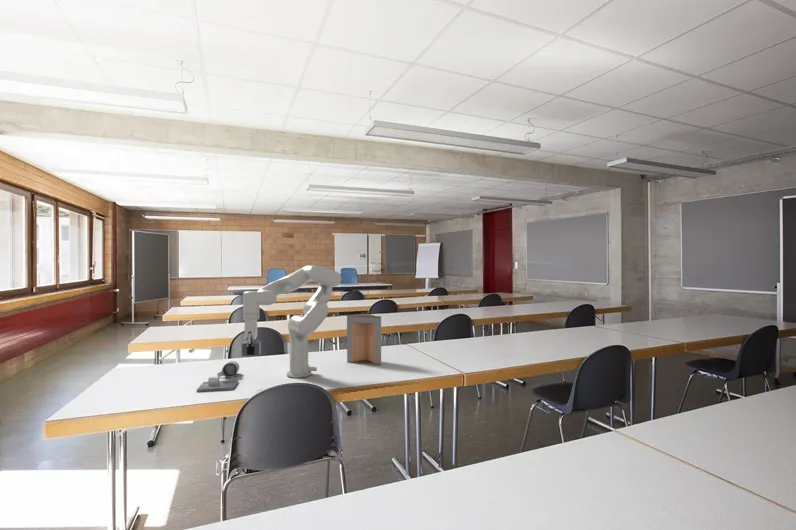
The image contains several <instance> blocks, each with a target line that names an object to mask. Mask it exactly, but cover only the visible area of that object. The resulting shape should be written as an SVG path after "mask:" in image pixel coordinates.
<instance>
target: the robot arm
mask: <svg viewBox="0 0 796 530" xmlns="http://www.w3.org/2000/svg"><path fill="white" fill-rule="evenodd" d="M310 282H316V283H317V285H318V286H317V290H316V292H315V293H314V294H313V295H312V296H311V297H310V299H309V300H308V301H307V302H306V303H305V304H304V306H303V309H302V311H303V313H304V315H301V314H295V315H293V316H291V317H290V318H289V319H288V324H287V328H288V329H287V330H288V334H289V335H288V336H289V371H288V372H287V373H286V376H287V377H289V378H292V379H293V378H294V379H300V378H307V377H310V376H311V375H312V372H316V371H318V367H316V366H310V364H309V337H308V336H310V335H312V334H313V333H314V332H315V331H317V329H318V328H319V326H320V325H321V324H322V323H323V322H324V321H325V319H326V318H327V316H328V314H329V307H328V304H327V303H328V302H329V301H330V300H331V298H332V295H333V288H334V287H338V286H339V285H340V284H341V282H342V276H341V274H340V273H339V272H338V271H336V270H334V269H333V270H332V269H329V268H326V267H322V266H320V265H314V264H309V265H304V266H303V267H301V268H298V269H297V270H295V271H294V272H292V273H290V274H288V275H286V276H284V277H282V278H280V279H279V278H278V279H277V280H274V281H273V282H270V283H268V284H267V285H265V286H262V287H261V288H259V289H258V290H257V291H256V290H247V291H244V292H243V293H242V316H243V317H242V320H243V321H244V328H243V329H244V331H243V332H244V333H243V335H244V336H243V340H244V341H247V355H254V346H253V345H254V341H257V337H258V320H260V306H271V305H274V304H275V303H276V301H277V298H278V296H279V295H281V294H287V293H291V292H294V291H297V290H298V289H300V288H301V287H303V286H305V285H306V284H308V283H310ZM251 341H252V342H251Z"/></svg>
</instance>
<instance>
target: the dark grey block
mask: <svg viewBox="0 0 796 530" xmlns="http://www.w3.org/2000/svg"><path fill="white" fill-rule="evenodd" d="M251 342H252V341H251ZM253 346H254V355H247V340H246V341H245V340H244V341H243V342H242V343H241V357H253V356H260V355H261V354H262V340H256V341H254V345H253Z"/></svg>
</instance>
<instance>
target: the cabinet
mask: <svg viewBox="0 0 796 530" xmlns="http://www.w3.org/2000/svg"><path fill="white" fill-rule="evenodd" d="M346 363H352V364H364V365H375V366H376V365H377V366H381V365H382V315H380V316H379V315H375V314H371V313H362V314H347V315H346Z"/></svg>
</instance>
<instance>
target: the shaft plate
mask: <svg viewBox="0 0 796 530" xmlns="http://www.w3.org/2000/svg"><path fill="white" fill-rule="evenodd" d="M207 380H208V381H203V382H202V383H201V384H200V385H199V387H197V389H196V393H200V392H201V393H204V392H219V391H222V392H223V391H234V390H235V388H236V387H237V385H238V384H239V379H231V380H220V376H219V377H218V376H209V377H208V379H207Z"/></svg>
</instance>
